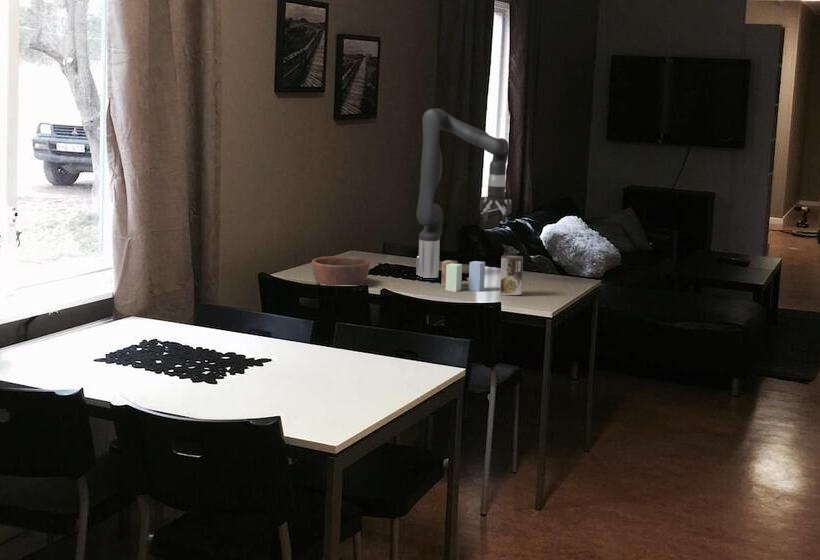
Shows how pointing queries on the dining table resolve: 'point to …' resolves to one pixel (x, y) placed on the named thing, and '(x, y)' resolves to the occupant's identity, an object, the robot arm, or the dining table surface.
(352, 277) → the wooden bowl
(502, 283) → the coffee box
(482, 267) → the slate block
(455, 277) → the sage block
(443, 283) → the walnut block
